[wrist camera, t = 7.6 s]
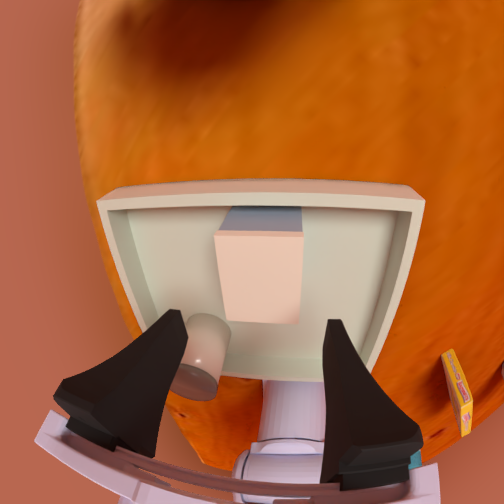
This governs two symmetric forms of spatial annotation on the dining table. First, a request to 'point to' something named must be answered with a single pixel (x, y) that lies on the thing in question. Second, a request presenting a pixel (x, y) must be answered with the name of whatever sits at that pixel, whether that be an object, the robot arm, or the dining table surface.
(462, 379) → the candy box
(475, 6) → the dining table surface
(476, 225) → the dining table surface
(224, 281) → the pale pink block
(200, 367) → the jar
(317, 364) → the white square tray
